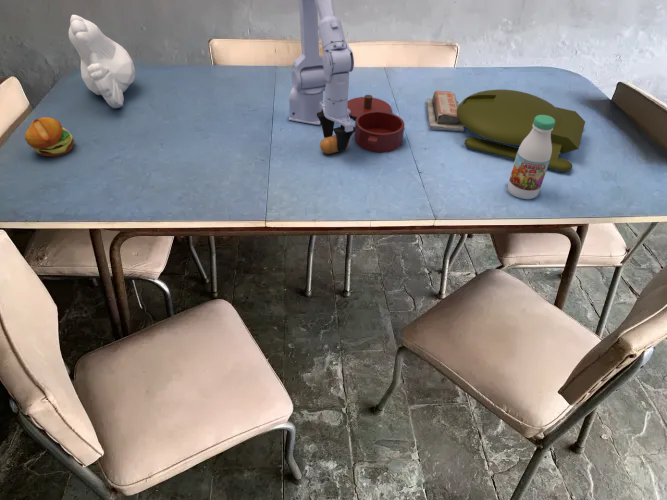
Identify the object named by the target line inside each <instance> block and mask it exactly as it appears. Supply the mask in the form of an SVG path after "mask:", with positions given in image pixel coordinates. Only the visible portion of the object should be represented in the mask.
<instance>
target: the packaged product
mask: <svg viewBox="0 0 667 500" xmlns="http://www.w3.org/2000/svg"><path fill="white" fill-rule="evenodd" d="M459 104H460V103H459V101H458V100H457V96H456V93H454V92H452V91H445V90H434V92H433V95H432V98H426V106H427V119H428V126H429V130H432V131H433V130H434V131H435V130H436V131H457V132H462V133H463V132H464V130H465V126H464V125H463V124H462V123H461V122H460V121H459V119H458V116H457V108H458V106H459Z"/></svg>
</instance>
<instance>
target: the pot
mask: <svg viewBox="0 0 667 500" xmlns="http://www.w3.org/2000/svg"><path fill="white" fill-rule="evenodd" d="M390 112H391V113H390ZM354 122H355V123H354V127H355V128H356V129H355V132H354V137H353V138H354V142H355V144H356V145H357V146H359V148H361V149H364V150H367V151H370V152H375V153H387V152H392V151H395V150H397V149H399V148H400V147H401V146H402V145H403V140H404V132H405V125H406V124H405V122H404V119H402V117H400V116H399V115H397V114H395V113H392V110H391V111H390V110H384V109H383V110H382V111H371V112H366V113H363V114H361V115H359V116H358V117H357V118H355V121H354Z"/></svg>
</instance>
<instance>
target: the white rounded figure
mask: <svg viewBox="0 0 667 500" xmlns="http://www.w3.org/2000/svg"><path fill="white" fill-rule="evenodd" d="M69 24H70V26H69V29H68V38H69V41H70V43H71V45H72V46H73V48H74V49H75V50H76V52H77V53H78V55H79V58H80V74H81V79H82V81H83V82H84V84H85V86H86V87H87V89H88V90H90V91H91V92H92V93H94V94H95V95H97V96H102V97H103V99H104V101H105V102H106V103H107V104H108V106H109V107H111V108H112V109H119V108H122V107H123V106H124V100H125V99H124V93H125V92H126V91H127V90H128V88H129V87H130V86H131V84H133V83H134V81H135V79H136V69H135V64H134V62H133V61H134V60H133V59H132V57H131V56H130V54H129V52H128V51H127V50H126V49H125V47H123V46H122V45H121V44H119V43H118V42H116V41H114V40H113V39H111V38H110V37H108V36H106V35H105V34H104V33H103V32H102V30H101V29H100V27H99V26H97V25H96V24H95V23H94V22H92V21H90V20H89V19H85V18H84V17H82V16H80V15H78V14H72V15H70V19H69Z"/></svg>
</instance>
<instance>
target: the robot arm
mask: <svg viewBox="0 0 667 500" xmlns="http://www.w3.org/2000/svg"><path fill="white" fill-rule="evenodd" d="M298 10H299V27H300V28H299V29H300V46H301V47H300V48H301V54H300V55H299V56H297V58H295V59H294V60H293V61H292V65H291V66H292V71H291V81H292V82H291V83H292V85H293V86H292V87H291V89H290V94H289V99H288V101H289V102H288V103H289V118H288V120H289V121H292V122H296V123H304V124H310V125H315V126H321V129H322V134H323V137H324V138H326V137H330V136H334V135H333V134H335V135H336V139H337V149H338V151H339V152H338V153H342V152H345V151H347V149H348V147H347V145H348V142H349V143H350V140H351V137H352V136H353V134H355V129H356V128H355V123H354V122H352V120H351V116H350V115H349V114H350V113H351V111H350V110H349V109H348V108H347V106H348V101H349V86H350V73H352V72H353V71H354V68H355V57H354V53H353V50H352V48H351V47H350V45H349V43H347V42H346V38H345V34H344V29H343V25H342V21H341V20H340V19H339V18H338V17H336V15H335V9H334V1H333V0H298ZM319 18H320V19H319ZM319 20H320V22H319ZM319 38H320V39H319ZM319 40H320V42H321V46H322V51H323V55H320V43H319ZM324 92H325V96H324ZM324 97H325V98H324ZM335 123H336V124H338V125H340V126H338V127H335ZM324 138H323V139H324ZM346 148H347V149H346Z"/></svg>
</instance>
